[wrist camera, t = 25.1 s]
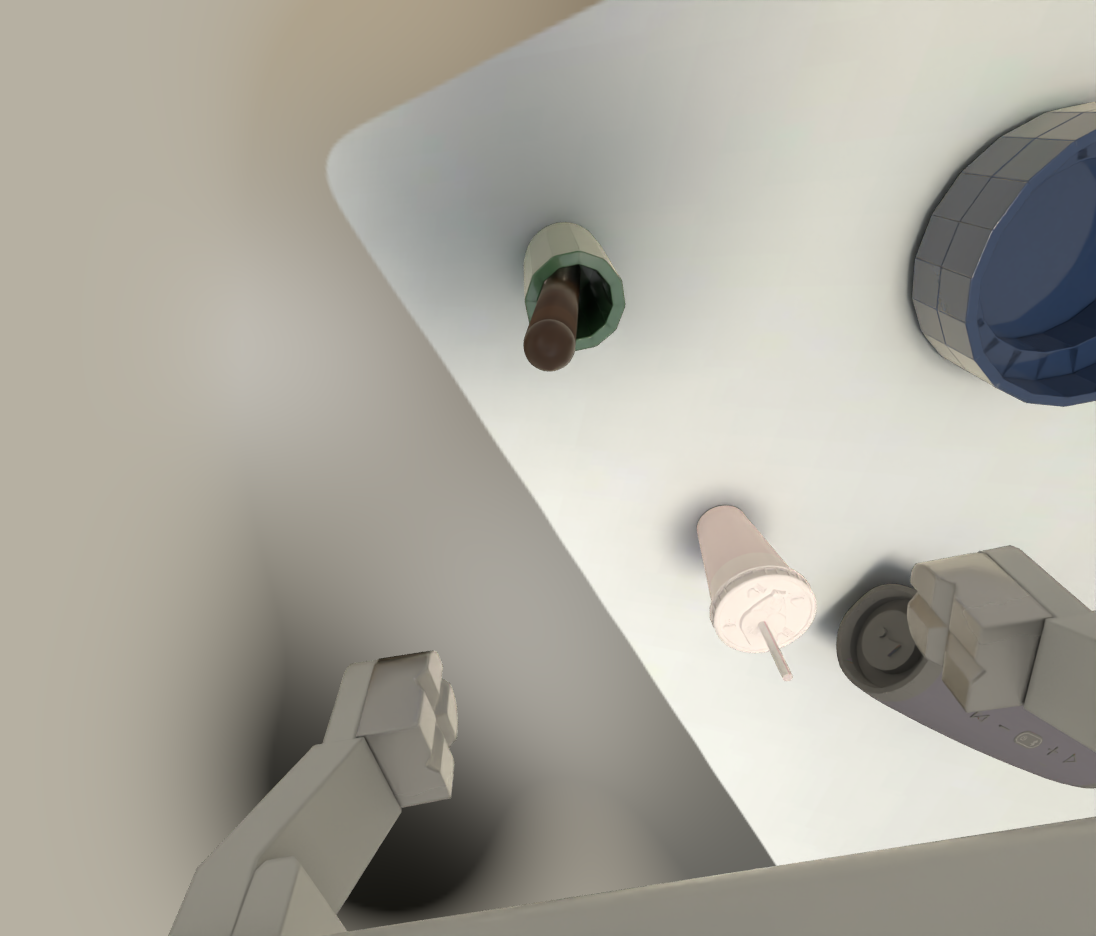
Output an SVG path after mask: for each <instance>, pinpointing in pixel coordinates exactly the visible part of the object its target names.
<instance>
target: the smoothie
mask: <svg viewBox="0 0 1096 936" xmlns="http://www.w3.org/2000/svg"><path fill="white" fill-rule="evenodd" d="M697 534H698V539H699V544H700V549H701V554H702V558H703V563H704V568H705V573H706V578H707V582H708V587H709V592H710V598H711V605H710V620H711V622H712V625H713V627H714V628H715V631H716V633H717V635H718V637H719V638H720V639H721V641H722V642H724V643H725V644H726V645H727V646H729V647H731V648H733V649H735V650H738V651H742V652H748V653H762V652H769V651H770V652H771V655H772V657H773V659H774V661H775V663H776V665H777V667H778V670H779V672H780V674H781V676H782V678H783V680H784V681H790V680H791V679H792V678H793V676H792V674H791V671H790V669H789V667H788V665H787V663H786V661H785V659H784V657H783V655H782V653H781V651H780V649H779V648H782V647H784V646H786V645H788V644H790V643H792V642H793V641H795V640H796V639H798V638H799V637H800V636H801V635H802V634H803V633H804V632H805V631H806V630H807V629H808V628H809V626H810V625H811V623H812V621H813V620H814V617H815V614H816V609H817V604H816V598H815V596H814V593H813V592H812V590H811V587H810V584H809V583H808V582H807V580H806V579H805V578H804V576H803V575H801V574H800V573H798V572H797V571H795V570H793V569H790V568H789V566H788V565H787V564H786V563H785V562H784V561H783V559H782V558H781V557H780V556H779V555H778V553H777V552H776V551H775V550H774V549H773V548H772V546H771V545H770V544H769V543H768V542H767V541H766V539H765V538H764V537H763V536H762V535H761V533H760V532H759V531H758V530H757V529H756V528H755V526H754V525H753V524H752V523H751V522H750V520H749V519H748V518H747V517H746V516H745V515H744V513H743V512H742V511H741V510H739V509H738V508H736V507H733V506H729V505H723V506H717V507H714V508H712V509H710V510H708V511H707V512H706V513H704V514H703V515H702V517H701V518H700V520H699V522H698V524H697Z"/></svg>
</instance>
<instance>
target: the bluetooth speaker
mask: <svg viewBox="0 0 1096 936" xmlns="http://www.w3.org/2000/svg"><path fill="white" fill-rule="evenodd" d="M916 593H917V590H916V589H913V588H910V587H907V586H904V585H899V584H885V585H880V586H877V587H875V588H872V589H871V590H870V591H868V592H867V593H866V594H865V595H863V596H862V597H861V598H860V599H859V600H858V601H857V602H856V603H855V604H854V605H853V606H852V607H851V608H850V609H849V610H848V611H847V613H846V614H845V616H844V617H843V619H842V621H841V623H840V627H839V630H838V634H837V643H836V647H837V657H838V661H839V664H840V667H841V669H842V671H843V672H844V674H845V675H846V676H847V678H848V679H849V680H850V681H851V682H852V683H853V684H855V685H856V686H857V687H858V688H860V689H861V690H863V691H864V692H866V693H867V694H868V695H870V696H871V697H873V698H875V699H876V700H878V701H880V702H881V703H883V704H885V705H887V706H888V707H890V708H892V709H894V710H896V711H898V712H900V713H902V714H904V715H905V716H907V717H909V718H911V719H913V720H915V721H917V722H919V723H921V724H923V725H925V726H927V727H929V728H931V729H933V730H935V731H937V732H939V733H941V734H943V735H945V736H947V737H949V738H951V739H953V740H955V741H958V742H960V743H962V744H964V745H966V746H969V747H971V748H973V749H975V750H977V751H980V752H982V753H984V754H987V755H989V756H991V757H993V758H996V759H998V760H1001V761H1003V762H1006V763H1008V764H1011V765H1013V766H1015V767H1018V768H1020V769H1023V770H1026V771H1028V772H1031V773H1033V774H1036V775H1038V776H1041V777H1044V778H1046V779H1049V780H1053V781H1056V782H1059V783H1063V784H1067V785H1071V786H1076V787H1081V788H1096V752H1094V751H1093V750H1091V749H1089V748H1088V747H1086V746H1084V745H1083V744H1081V743H1079V742H1078V741H1076V740H1075V739H1073V738H1071V737H1070V736H1068V735H1066V734H1065V733H1063V732H1061V731H1060V730H1058V729H1057V728H1055V727H1053V726H1052V725H1050V724H1048V723H1047V722H1045V721H1043V720H1042V719H1040V718H1039V717H1037V716H1035V715H1034V714H1032V713H1030V712H1029V711H1027V710H1025V709H1024V708H1023V707H1024V705H1022V706H1015V707H1008V708H1001V709H993V710H986V711H979V712H971V713H966V712H965V710H964V709H963V708H962V706H961V705H960V704H959V702H958V701H957V700H956V698H955V697H954V696H953V694H952V693H951V692H950V691H949V689H948V688H947V687H946V685H945V684H944V683H943V681H942V680H941V679H942V672H943V667H941V666H939V665H937V664H935V663H934V662H932V661H930V660H928V659H926V658H925V657H924V656H923V654H922V653H921V651H920V650H919V649H918V647H917V646H916V644H915V642H914V640H913V638H912V635H911V633H910V629H909V625H908V620H907V608H908V602H909V601H910V600H911V599H912V598H913V596H914V595H915V594H916Z"/></svg>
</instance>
